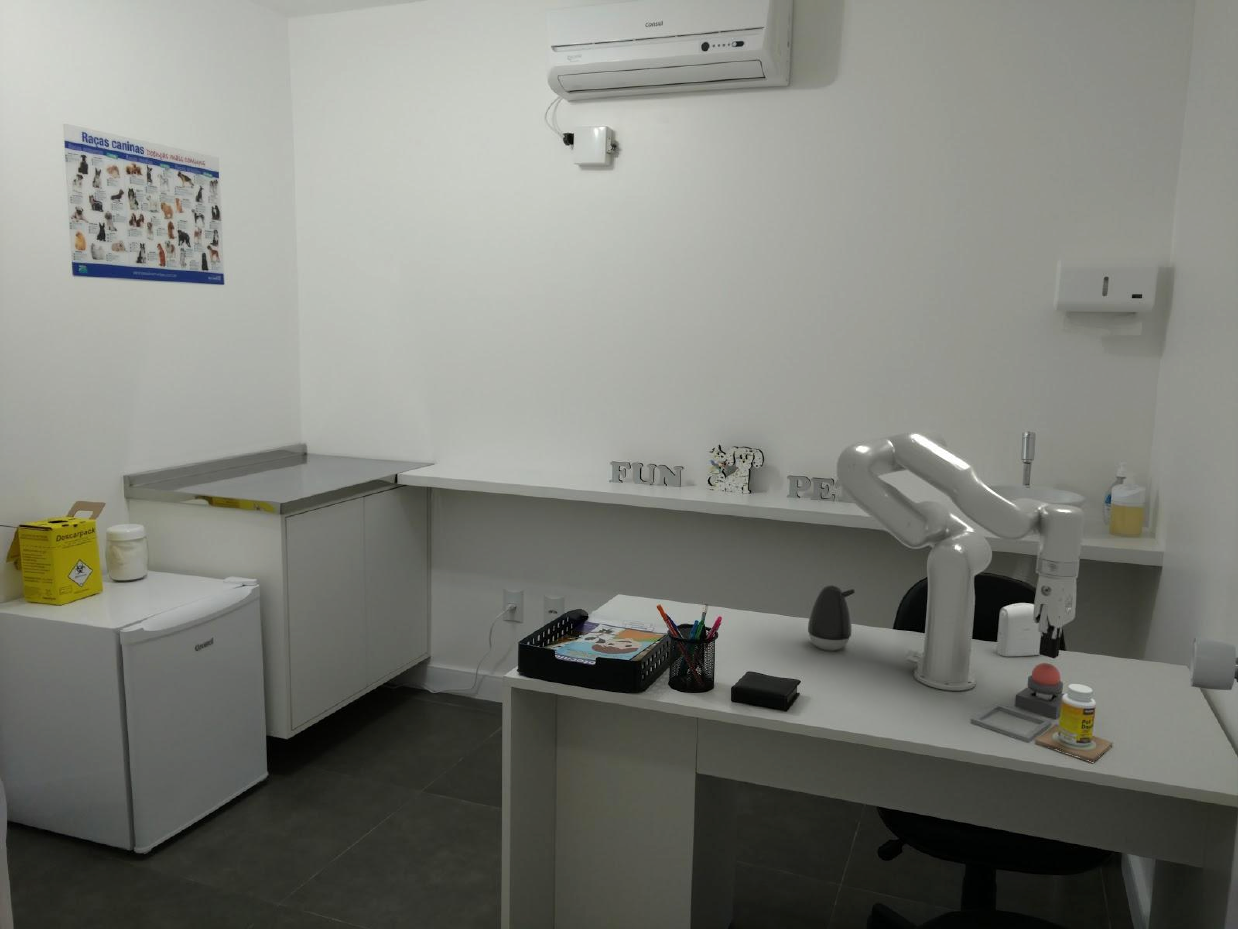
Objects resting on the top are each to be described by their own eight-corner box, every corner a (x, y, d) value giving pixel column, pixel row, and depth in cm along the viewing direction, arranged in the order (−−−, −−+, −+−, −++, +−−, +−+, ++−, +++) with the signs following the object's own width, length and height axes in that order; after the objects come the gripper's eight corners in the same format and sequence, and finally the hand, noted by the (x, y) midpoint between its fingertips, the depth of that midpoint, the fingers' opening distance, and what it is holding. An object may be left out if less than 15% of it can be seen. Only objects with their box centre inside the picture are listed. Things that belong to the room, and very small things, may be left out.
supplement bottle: (1080, 750, 159) (1087, 696, 158) (1051, 738, 164) (1057, 685, 162) (1097, 743, 162) (1103, 690, 161) (1068, 731, 167) (1073, 679, 165)
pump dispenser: (856, 655, 206) (860, 592, 203) (811, 654, 206) (815, 591, 204) (845, 640, 216) (849, 580, 214) (803, 638, 216) (806, 578, 214)
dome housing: (1014, 706, 180) (1015, 694, 179) (1030, 695, 185) (1031, 684, 185) (1055, 719, 174) (1056, 707, 173) (1070, 708, 179) (1072, 696, 179)
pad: (1034, 743, 163) (1035, 739, 163) (1055, 727, 170) (1056, 723, 170) (1092, 763, 156) (1093, 758, 156) (1112, 746, 163) (1112, 741, 163)
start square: (970, 722, 171) (970, 718, 171) (995, 707, 179) (995, 703, 179) (1028, 742, 164) (1028, 738, 163) (1051, 725, 171) (1051, 721, 171)
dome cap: (1021, 699, 179) (1024, 663, 178) (1033, 691, 184) (1037, 655, 183) (1053, 709, 175) (1057, 672, 174) (1066, 701, 179) (1069, 664, 178)
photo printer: (1003, 658, 206) (1008, 607, 204) (993, 651, 211) (997, 601, 209) (1043, 656, 208) (1048, 606, 206) (1032, 650, 212) (1037, 600, 210)
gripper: (1062, 577, 167) (1053, 670, 170) (1091, 564, 177) (1082, 652, 180) (1022, 569, 173) (1014, 659, 175) (1052, 557, 183) (1044, 642, 185)
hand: (1048, 655), depth 178 cm, fingers closed
